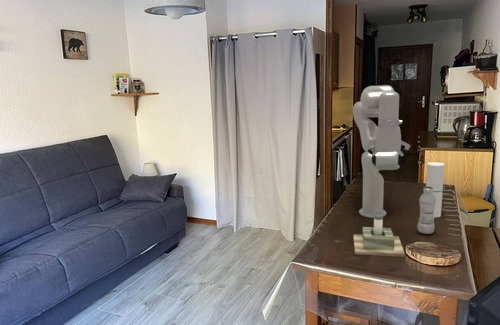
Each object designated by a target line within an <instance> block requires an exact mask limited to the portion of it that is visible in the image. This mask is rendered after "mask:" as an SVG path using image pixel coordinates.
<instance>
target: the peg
mask: <svg viewBox="0 0 500 325" xmlns="http://www.w3.org/2000/svg"><path fill="white" fill-rule="evenodd" d="M383 220H384V217H383V215H382V214H374V218H373V227H374V235H375V236H382V228H383Z"/></svg>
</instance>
